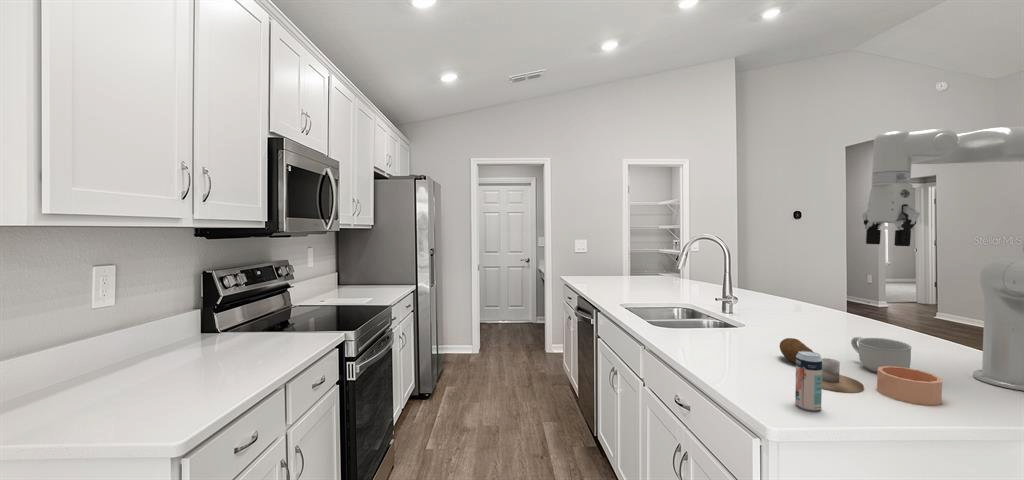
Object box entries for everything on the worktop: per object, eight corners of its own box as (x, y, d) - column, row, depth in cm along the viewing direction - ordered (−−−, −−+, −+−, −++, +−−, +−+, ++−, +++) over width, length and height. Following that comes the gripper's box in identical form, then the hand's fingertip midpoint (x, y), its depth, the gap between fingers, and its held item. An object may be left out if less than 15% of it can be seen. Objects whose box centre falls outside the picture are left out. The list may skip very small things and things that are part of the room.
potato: (800, 370, 113) (801, 345, 113) (769, 357, 124) (769, 334, 124) (822, 368, 114) (823, 344, 114) (789, 355, 125) (789, 333, 125)
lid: (848, 377, 108) (848, 355, 108) (875, 397, 96) (876, 372, 96) (791, 372, 112) (791, 351, 112) (810, 391, 100) (811, 366, 99)
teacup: (922, 378, 106) (923, 348, 106) (880, 378, 106) (881, 348, 106) (876, 360, 120) (876, 334, 120) (838, 361, 120) (839, 334, 120)
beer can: (796, 400, 93) (796, 349, 93) (822, 406, 90) (823, 353, 90) (793, 408, 90) (794, 354, 89) (821, 414, 87) (822, 358, 86)
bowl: (921, 388, 100) (922, 368, 99) (954, 407, 89) (955, 385, 89) (868, 384, 103) (868, 364, 103) (893, 401, 92) (894, 380, 92)
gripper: (936, 176, 98) (932, 247, 99) (880, 183, 115) (877, 243, 116) (902, 176, 99) (897, 246, 100) (851, 183, 116) (848, 243, 117)
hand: (886, 245), depth 108 cm, fingers open, 9 cm apart
